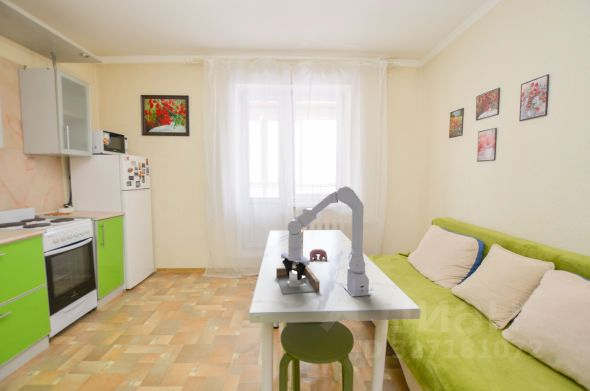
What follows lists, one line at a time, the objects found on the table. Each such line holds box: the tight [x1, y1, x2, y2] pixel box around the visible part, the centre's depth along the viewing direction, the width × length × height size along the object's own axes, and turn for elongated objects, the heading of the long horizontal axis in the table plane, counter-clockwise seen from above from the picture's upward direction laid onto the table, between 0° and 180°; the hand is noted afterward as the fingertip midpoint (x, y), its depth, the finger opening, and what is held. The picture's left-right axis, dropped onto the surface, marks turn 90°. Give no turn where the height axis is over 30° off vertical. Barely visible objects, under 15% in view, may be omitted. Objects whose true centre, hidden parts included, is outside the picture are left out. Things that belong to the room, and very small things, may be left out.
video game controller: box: [309, 248, 328, 262], centre depth 147 cm, size 10×5×7 cm, turn 93°
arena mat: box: [276, 276, 316, 295], centre depth 114 cm, size 18×15×1 cm
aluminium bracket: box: [289, 270, 306, 285], centre depth 115 cm, size 6×4×5 cm
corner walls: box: [275, 265, 320, 293], centre depth 113 cm, size 18×15×4 cm
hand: (294, 277), depth 113 cm, fingers open, 5 cm apart
